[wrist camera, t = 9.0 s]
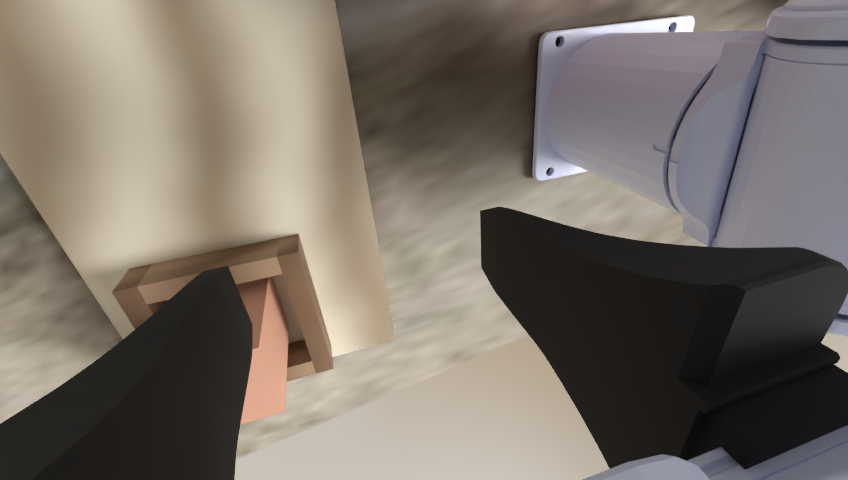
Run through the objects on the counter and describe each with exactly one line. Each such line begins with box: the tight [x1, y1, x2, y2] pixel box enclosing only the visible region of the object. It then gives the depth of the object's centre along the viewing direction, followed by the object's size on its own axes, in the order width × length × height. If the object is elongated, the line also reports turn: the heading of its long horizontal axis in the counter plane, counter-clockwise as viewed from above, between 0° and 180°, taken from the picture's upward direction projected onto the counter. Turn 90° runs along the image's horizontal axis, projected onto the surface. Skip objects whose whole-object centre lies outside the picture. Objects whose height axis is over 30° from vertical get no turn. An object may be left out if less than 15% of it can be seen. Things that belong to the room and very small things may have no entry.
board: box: [0, 0, 395, 382], centre depth 18 cm, size 14×20×3 cm
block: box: [236, 277, 289, 424], centre depth 18 cm, size 4×4×6 cm
